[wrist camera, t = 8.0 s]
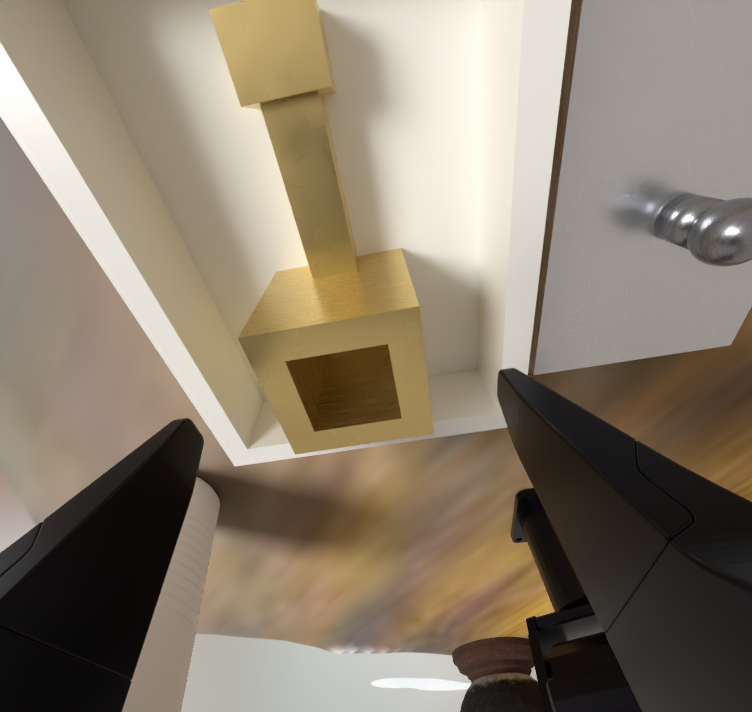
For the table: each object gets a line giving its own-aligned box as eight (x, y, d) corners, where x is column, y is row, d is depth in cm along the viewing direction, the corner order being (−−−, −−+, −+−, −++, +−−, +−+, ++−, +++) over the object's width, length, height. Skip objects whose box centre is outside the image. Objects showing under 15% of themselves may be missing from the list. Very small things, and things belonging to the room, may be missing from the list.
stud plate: (711, 334, 16) (803, 388, 13) (525, 363, 17) (566, 422, 13) (1016, -295, 7) (1604, -672, 4) (584, -181, 8) (756, -416, 4)
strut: (415, 352, 16) (434, 433, 12) (312, 369, 16) (295, 454, 12) (367, -2, 9) (371, -112, 5) (192, 41, 9) (57, -26, 5)
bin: (495, 375, 17) (521, 425, 14) (255, 412, 18) (234, 466, 15) (520, -201, 8) (618, -402, 5) (2, -61, 8) (-184, -157, 6)
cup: (59, 442, 19) (-216, 730, 10) (237, 444, 20) (130, 717, 11) (123, 532, 25) (-14, 767, 16) (259, 531, 25) (203, 757, 16)
